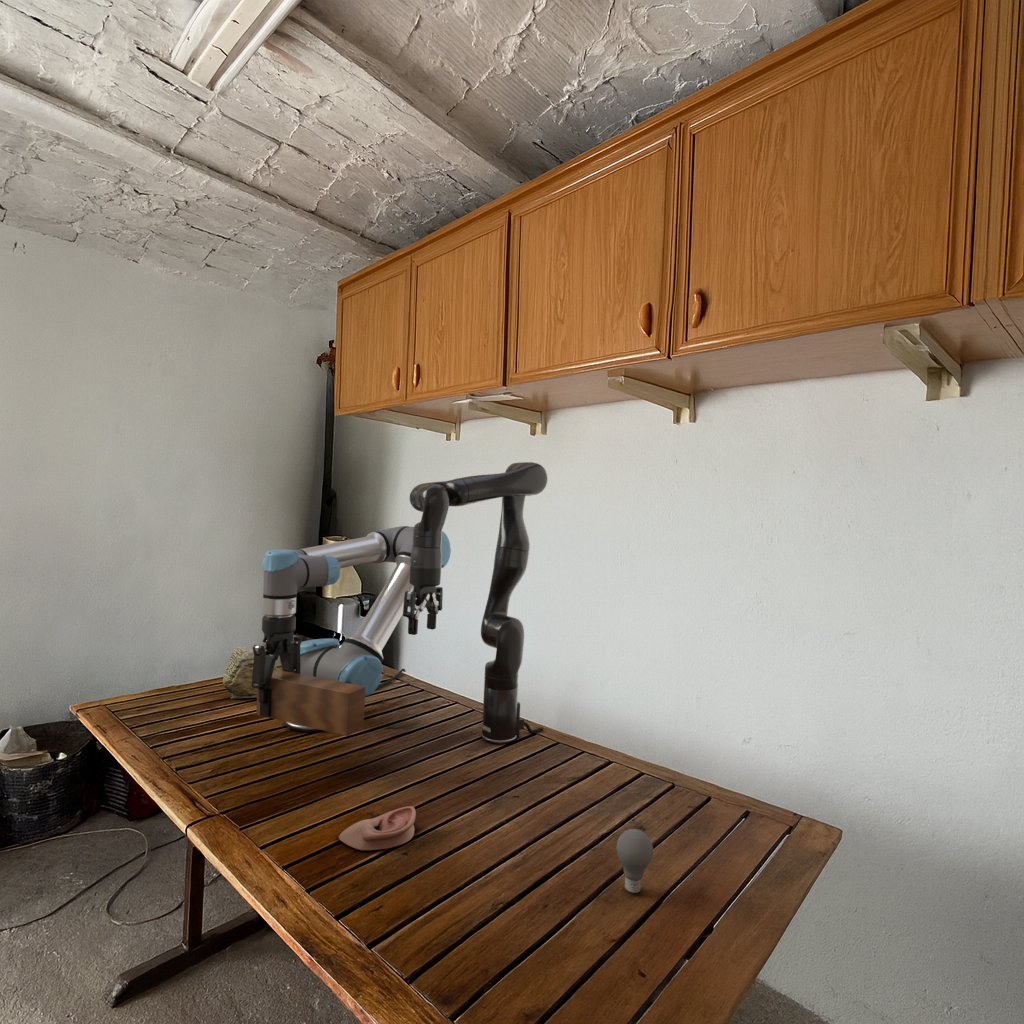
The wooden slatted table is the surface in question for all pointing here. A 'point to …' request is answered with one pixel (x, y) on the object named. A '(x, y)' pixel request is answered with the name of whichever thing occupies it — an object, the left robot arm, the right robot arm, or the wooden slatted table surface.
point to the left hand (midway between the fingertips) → (275, 711)
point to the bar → (316, 702)
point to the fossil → (240, 674)
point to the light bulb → (634, 857)
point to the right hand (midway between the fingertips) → (422, 631)
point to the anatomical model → (381, 830)
